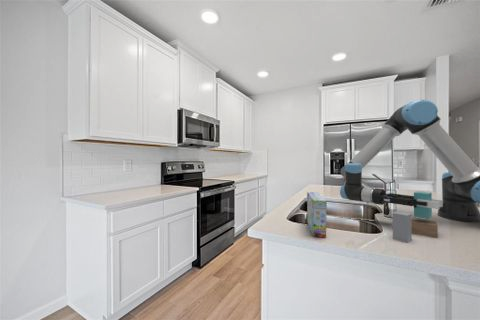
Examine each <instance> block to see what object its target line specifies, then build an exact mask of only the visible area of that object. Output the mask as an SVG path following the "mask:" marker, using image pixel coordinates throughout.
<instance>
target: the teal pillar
mask: <svg viewBox="0 0 480 320" xmlns="http://www.w3.org/2000/svg"><path fill="white" fill-rule="evenodd" d="M413 196H414V199H415V200H416V201H417V199H420V200H428V201H432V199H433V197H432V196H433V194H432V192H429V191H428V192H427V191H419V190H417V191H415V192H413ZM432 210H433V208H427V207H420V206H417V205H416V208H414V207H413V218H420V219H427V220H430V219H431V218H432V215H433V214H432Z"/></svg>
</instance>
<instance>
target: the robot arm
mask: <svg viewBox="0 0 480 320" xmlns="http://www.w3.org/2000/svg"><path fill="white" fill-rule="evenodd" d="M438 112H439V109H438V107H437V105H436V104H435V103H434V102H432V101H431V100H427V99H417V100H414V101H413V100H412V101H409V102H408V103H406V104H404V105H403V106H401V107H399V108H398V109H397V110H395V111H394V112H393V113H392V114H391V115H390V117H389V118H388V119H387V120H386V121H385V123H384V124H383V125H382V128H381V129H380V130H379V131H378V132H377V133H376V134H375V136H373V137H372V139H370V140H369V142H367V144H365V145H364V146H363V148H361V149H360V150H359V151H358V152H357V154H355V155H354V156H353V158H351V160H350V161H348V162H347V163H345V165H344V166H342V168H341V169H340V174H341V176H342V177H343V178H344V179H345V182H344V183H345V184H343V185H341V186H340V189H339V195H340V196H341V198H342V199H344V200H349V201H354V202H361V203H362V202H363V203H366V204H367V205H369V204H375V205H380V206H383V205H385V204H394V205H400V206H407V207H413V209H414V208H416V205H417V206H420V207H427V208H432V209H433V210H437V215H438V216H440V217H442V218H445V219H449V220H454V221H460V222H461V221H462V222H471V223H472V222H473V223H474V222H475V223H478V222H480V210H479V208H478V205H477V203H478V204H480V167H478V165H476V164H475V163H474V162H473V161H472V159H471V158H470V157H469V156H468V155H467V153H465V152H464V151H463V148H461V147H460V146H459V144H458V143H457V142H456V141H455V140H454V139H453V138H452V137H451V135H450V134H448V132H447V131H446V130H445V129H444V127H442V125H440V122H441V118H440V117H439V116H438ZM406 130H408V131H409V132H410V133H411V135H415V136H416V135H417V136H418V137H419V138H420V140H421V141H422V142H423V143H424V144H425V145H426V147H427V148H428V149H429V150H430V151H431V152H432V154H433V155H434V156H435V157H436V158H437V159H438V160H439V161H440V163H441V164H442V165H443V166H444V167H445V168H446V170H447V171H448V172H447V171H446V172H444V173H442V176H441V188H442V189H441V191H442V192H441V194H442V195H441V197H442V199H435V198H432V201H428V200H420V199H417V201H416V200H415V199H414V195H407V194H399V193H394V192H389V193H387V192H386V190H385V189H384V188H374V187H369V186H367V187H366V186H363V185H362V178H363V177H362V175H363V173H362V172H363V169H364V168H365V167H366V166H367V165H368V164H369V163H370V162H371V161H372V160H373V159H374V158H375V157H376V156H377V155H378V154H379V153H380V152H381V151H382V150H384V148H385V147H386V146H387V145H389V143H390V142H391V141H392V140H393V139H395V138H396V137H400V136H401V134H403V133H404V132H405V131H406Z"/></svg>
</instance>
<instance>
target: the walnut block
mask: <svg viewBox="0 0 480 320" xmlns="http://www.w3.org/2000/svg"><path fill="white" fill-rule="evenodd" d="M411 218H412V235H418V236H424V237H429V238H434V239H438V236H439V235H438V227H439V225H438V224H437V222H436V220H434V219H425V218H420V217H413V216H411Z"/></svg>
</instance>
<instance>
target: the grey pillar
mask: <svg viewBox="0 0 480 320" xmlns="http://www.w3.org/2000/svg"><path fill="white" fill-rule="evenodd" d="M411 217H412V213H411V212H406V211H405V212H404V211H399V210H396V211H394V212H392V240H395V241H396V240H397V241H400V242H404V243H409V242H410V241H412V238H413V237H412V235H413V234H412V218H413V217H412V218H411Z"/></svg>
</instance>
